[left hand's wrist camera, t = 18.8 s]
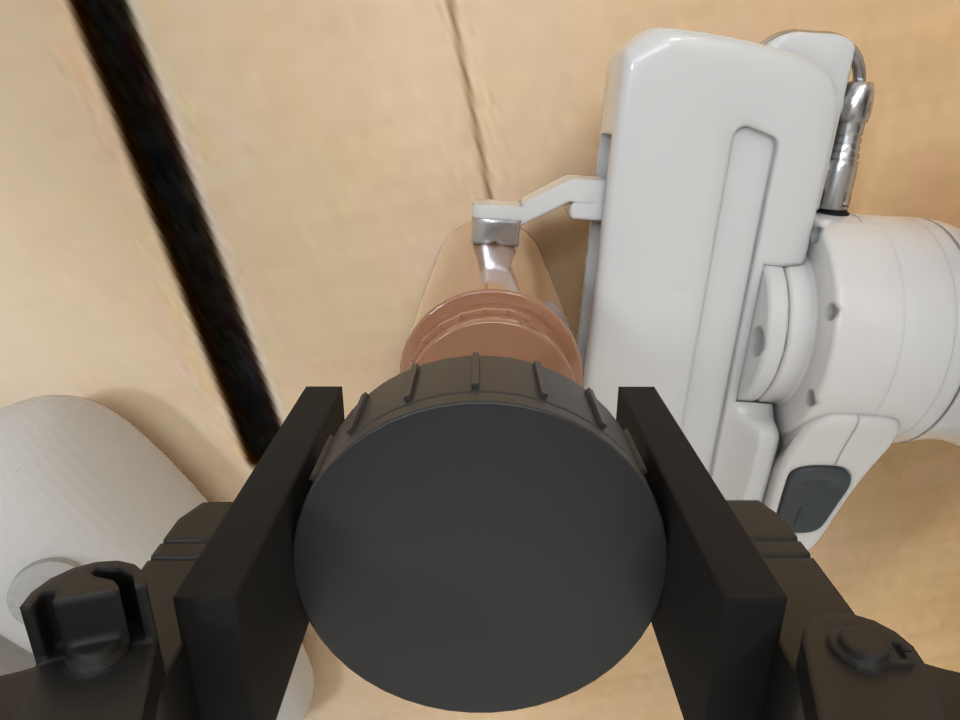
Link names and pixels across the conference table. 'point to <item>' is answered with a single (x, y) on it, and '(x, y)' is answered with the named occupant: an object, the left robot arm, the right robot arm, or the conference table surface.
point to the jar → (492, 308)
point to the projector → (87, 510)
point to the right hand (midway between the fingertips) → (467, 306)
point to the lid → (480, 537)
